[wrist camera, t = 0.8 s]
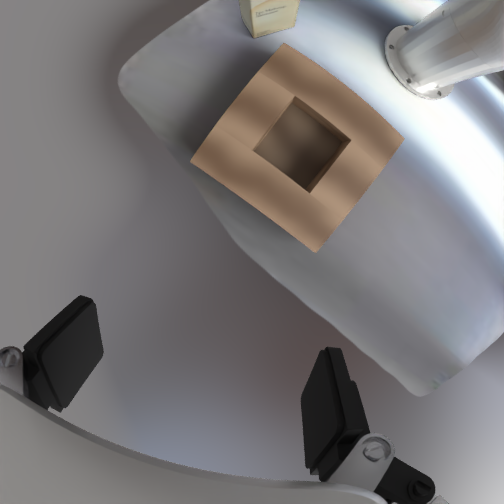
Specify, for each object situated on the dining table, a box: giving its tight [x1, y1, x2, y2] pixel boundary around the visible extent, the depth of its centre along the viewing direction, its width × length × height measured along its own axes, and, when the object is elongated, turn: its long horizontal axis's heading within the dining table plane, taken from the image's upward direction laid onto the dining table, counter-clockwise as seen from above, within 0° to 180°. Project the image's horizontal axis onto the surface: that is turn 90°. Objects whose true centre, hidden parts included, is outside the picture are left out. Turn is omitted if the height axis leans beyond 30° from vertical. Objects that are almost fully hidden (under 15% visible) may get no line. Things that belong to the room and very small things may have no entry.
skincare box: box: [239, 0, 300, 38], centre depth 21 cm, size 6×4×12 cm
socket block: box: [190, 43, 404, 253], centre depth 30 cm, size 18×18×5 cm
